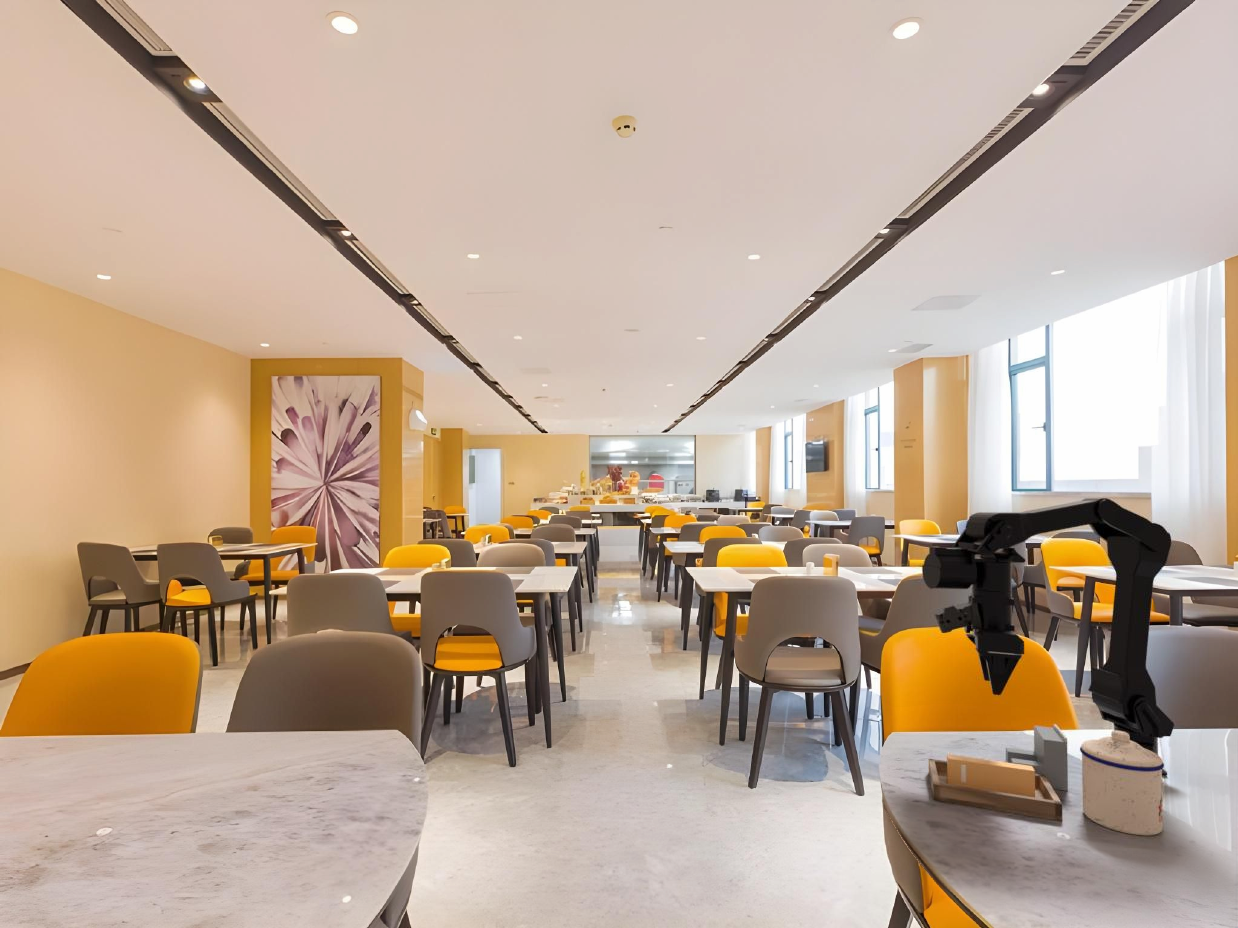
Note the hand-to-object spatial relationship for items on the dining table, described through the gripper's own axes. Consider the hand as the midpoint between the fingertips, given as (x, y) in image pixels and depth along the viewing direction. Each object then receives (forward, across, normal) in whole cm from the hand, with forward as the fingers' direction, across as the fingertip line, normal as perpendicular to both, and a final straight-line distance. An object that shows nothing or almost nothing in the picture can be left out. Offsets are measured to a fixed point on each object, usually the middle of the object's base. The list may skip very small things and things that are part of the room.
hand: (992, 687), depth 110 cm
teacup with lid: (+13, +13, +13) cm, 22 cm away
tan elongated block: (+12, +12, -2) cm, 17 cm away
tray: (+12, +12, -2) cm, 18 cm away
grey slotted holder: (+12, +2, +6) cm, 14 cm away
